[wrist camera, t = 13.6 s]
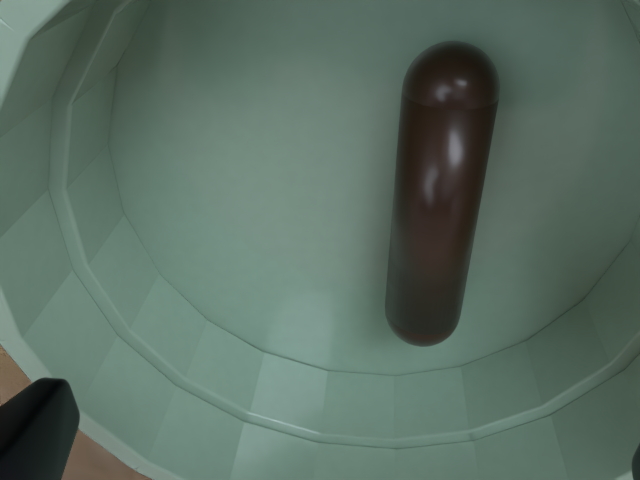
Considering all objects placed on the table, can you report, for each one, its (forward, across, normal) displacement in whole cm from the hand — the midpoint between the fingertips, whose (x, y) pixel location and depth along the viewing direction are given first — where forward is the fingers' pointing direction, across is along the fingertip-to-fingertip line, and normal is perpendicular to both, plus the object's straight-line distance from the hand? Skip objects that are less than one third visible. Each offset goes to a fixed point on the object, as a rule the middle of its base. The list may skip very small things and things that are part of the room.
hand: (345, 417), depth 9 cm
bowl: (+8, 0, 0) cm, 8 cm away
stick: (+6, -1, 0) cm, 6 cm away
